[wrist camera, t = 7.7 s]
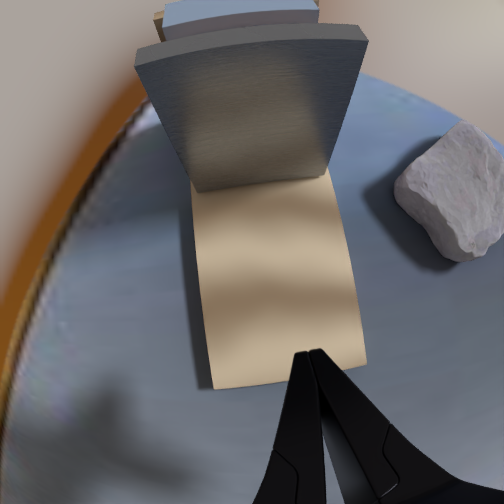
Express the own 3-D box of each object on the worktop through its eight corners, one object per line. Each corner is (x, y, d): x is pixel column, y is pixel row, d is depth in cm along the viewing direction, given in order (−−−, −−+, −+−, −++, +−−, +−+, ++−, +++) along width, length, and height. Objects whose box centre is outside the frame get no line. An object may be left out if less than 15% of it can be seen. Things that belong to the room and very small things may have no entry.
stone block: (497, 207, 23) (446, 125, 23) (529, 199, 18) (474, 106, 18) (439, 283, 22) (376, 187, 22) (476, 285, 17) (406, 169, 17)
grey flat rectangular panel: (324, 175, 20) (368, 40, 9) (197, 193, 21) (133, 66, 9) (320, 160, 21) (357, 25, 9) (196, 178, 21) (137, 49, 9)
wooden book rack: (361, 362, 19) (450, 393, 8) (216, 385, 19) (163, 447, 8) (302, 98, 24) (314, -7, 13) (189, 113, 24) (154, 13, 13)
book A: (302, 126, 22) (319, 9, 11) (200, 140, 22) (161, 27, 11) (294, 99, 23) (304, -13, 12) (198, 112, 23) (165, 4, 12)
